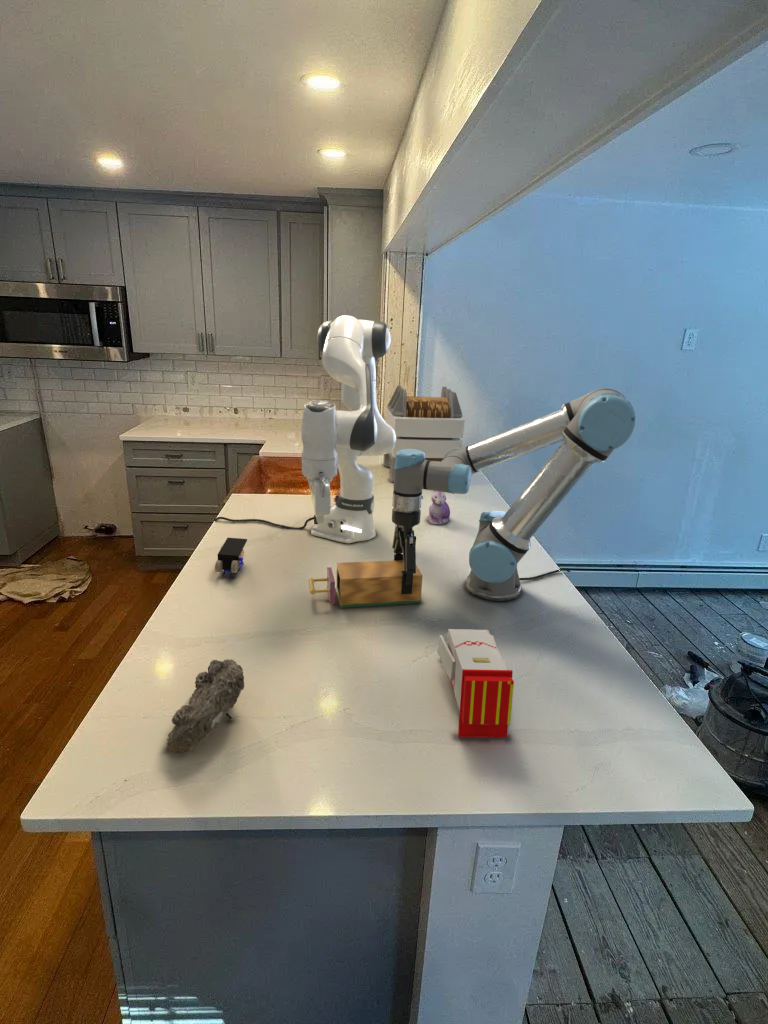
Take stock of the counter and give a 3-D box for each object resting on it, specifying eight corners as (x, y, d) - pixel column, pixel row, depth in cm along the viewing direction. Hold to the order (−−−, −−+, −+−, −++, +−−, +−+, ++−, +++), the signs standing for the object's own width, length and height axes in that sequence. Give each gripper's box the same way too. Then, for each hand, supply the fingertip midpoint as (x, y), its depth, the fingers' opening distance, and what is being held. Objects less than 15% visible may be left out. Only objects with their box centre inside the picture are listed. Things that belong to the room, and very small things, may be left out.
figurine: (435, 526, 207) (438, 487, 202) (421, 517, 216) (423, 479, 211) (456, 523, 212) (460, 485, 207) (441, 514, 220) (444, 477, 215)
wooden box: (340, 607, 149) (341, 579, 146) (336, 590, 159) (336, 562, 156) (420, 602, 154) (422, 575, 151) (411, 585, 163) (413, 559, 160)
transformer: (382, 463, 289) (386, 382, 275) (445, 464, 293) (451, 384, 279) (390, 482, 257) (394, 392, 243) (460, 483, 261) (468, 394, 247)
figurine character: (238, 584, 162) (249, 557, 175) (236, 562, 158) (247, 536, 172) (215, 584, 161) (227, 556, 175) (212, 561, 158) (225, 535, 171)
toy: (488, 613, 130) (523, 677, 101) (484, 667, 133) (517, 744, 104) (435, 612, 130) (455, 676, 101) (432, 666, 133) (451, 743, 103)
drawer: (310, 605, 148) (310, 582, 146) (308, 589, 156) (308, 568, 154) (406, 599, 153) (407, 578, 151) (399, 584, 161) (400, 564, 159)
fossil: (192, 660, 117) (244, 628, 112) (224, 691, 120) (276, 661, 115) (142, 746, 98) (202, 712, 93) (182, 779, 101) (242, 748, 96)
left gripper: (337, 479, 131) (336, 534, 136) (328, 457, 150) (327, 506, 155) (309, 479, 130) (309, 535, 135) (304, 457, 149) (304, 506, 154)
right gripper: (432, 523, 139) (425, 603, 147) (410, 494, 160) (406, 566, 167) (402, 524, 138) (397, 605, 145) (384, 495, 158) (381, 567, 166)
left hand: (319, 519), depth 145 cm, fingers closed
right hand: (402, 584), depth 156 cm, fingers closed on wooden box, 10 cm apart
